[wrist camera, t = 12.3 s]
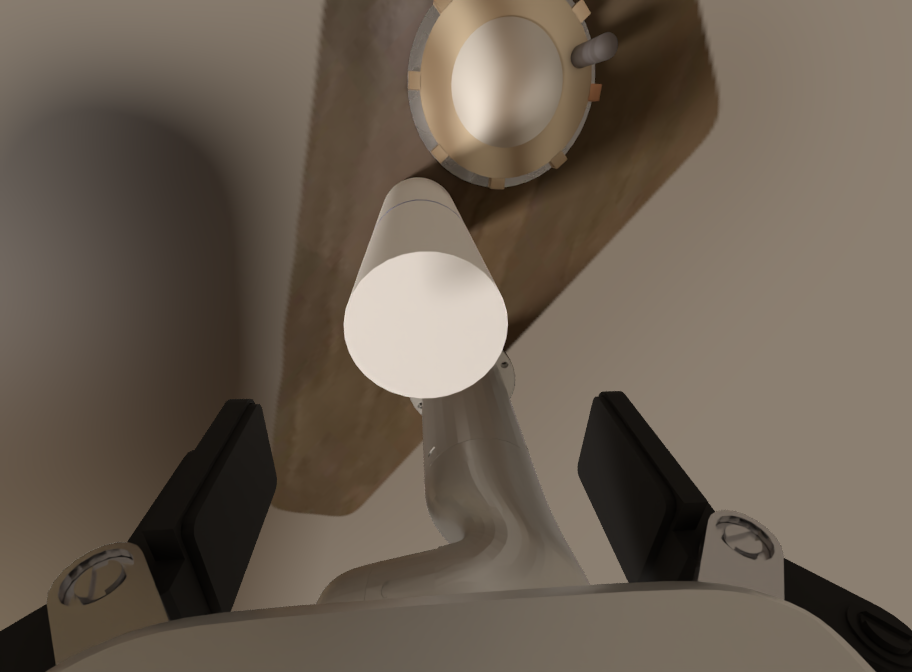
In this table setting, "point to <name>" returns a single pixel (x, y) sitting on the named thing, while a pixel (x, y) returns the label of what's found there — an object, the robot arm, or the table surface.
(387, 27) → the table surface
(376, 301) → the cylindrical container
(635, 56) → the table surface
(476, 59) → the dial
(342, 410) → the table surface
